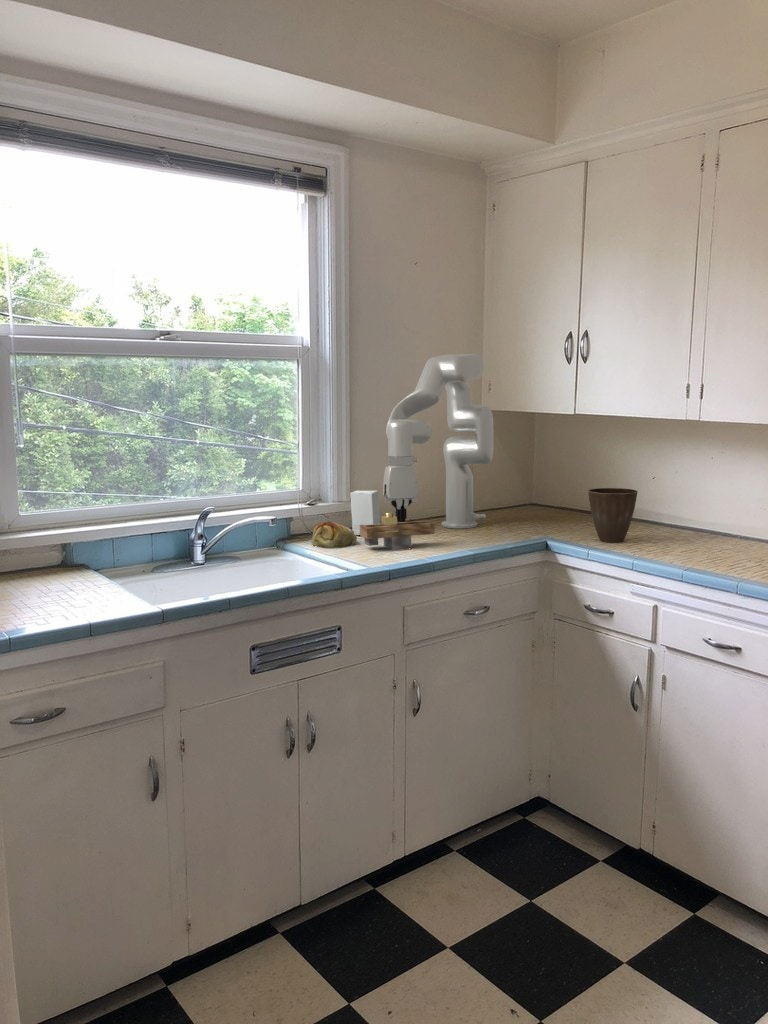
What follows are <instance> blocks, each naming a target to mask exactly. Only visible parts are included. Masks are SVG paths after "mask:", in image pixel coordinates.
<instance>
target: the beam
mask: <svg viewBox="0 0 768 1024" xmlns="http://www.w3.org/2000/svg"><path fill="white" fill-rule="evenodd" d="M435 527H436V525H435V522H433V521H429V520H426V519H425V520H424V519H423V520H415V521H405V522H397V525H393V526H382V523H380V524H372V525H360V536H359V537H363V538H364V545H367V546H369V547H370V546H371V547H372V546H379V539H383V546H384V547H385V546H386V547H385V548H387V549H389V548H390V549H389V550H391V549H392V551H400V550H399V549H403V550H410V549H409V548H411V549H412V536H424V535H434V534H436V533H435V531H436V530H435Z"/></svg>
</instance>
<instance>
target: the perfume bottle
mask: <svg viewBox="0 0 768 1024" xmlns="http://www.w3.org/2000/svg"><path fill="white" fill-rule="evenodd" d="M397 523H398V521H397V516H396V515H394V512H385V514H384V515H381V524H382V526H393V525H397Z"/></svg>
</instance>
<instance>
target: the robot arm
mask: <svg viewBox="0 0 768 1024" xmlns="http://www.w3.org/2000/svg"><path fill="white" fill-rule="evenodd" d="M484 366H485V364H484V361H483V358H482V357H481V356H480V355H479V354H477V353H460V354H459V353H457V354H456V353H452V354H442V355H438V356H437V355H436V356H432V357H430V358H429V359H427V361H426V362H425V365H424V368H423V369H422V372H421V374H420V377H419V378H418V382H417V384H416V386H415V389H414V390H413V391H412V392H411V393H409V394H408V395H406V396H405V397H404V398H403V399H401V400H400V402H398V403H397V404H396V405H395V406H394V407H393V408H392V411H391V413H390V416H389V418H388V421H387V423H386V426H385V427H386V429H385V434H386V437H387V444H388V445H387V455H388V457H387V459H388V462H387V463H388V466H387V465H386V466H385V468H384V473H383V481H382V482H383V483H382V495H383V497H384V499H383V502H384V503H385V504H389V505H392V507H393V508H394V509H395V516H397V523H399V522H406V519H407V510H408V509H409V507H410V505H411V504H412V503H416V502H418V495H419V494H418V493H419V486H418V485H419V484H418V474H417V470H416V469H417V468H416V466H415V465H414V464H415V463H416V462H418V457H415V456H414V445H421V444H425V443H427V442H428V441H429V440H430V439H431V437H432V431H433V429H432V427H431V424H430V423H429V422H428V421H426V420H423V419H412V418H410V417H412V416H413V415H416V414H418V413H420V412H423V411H425V410H428V409H430V408H432V407H434V406H436V405H437V404H438V403H439V402H440V400H441V396H442V394H443V392H444V389H445V392H446V402H447V403H446V417H447V418H446V420H447V427H448V429H449V431H451V432H455V433H468V434H469V433H476V436H468V435H466V436H465V435H456V436H455V435H454V436H450V437H448V438H446V440H445V441H444V442H443V446H442V448H443V449H442V451H443V458H444V459H443V460H444V464H445V520H444V521H442V522H441V526H442V527H443V528H448V529H472V528H476V527H477V526H478V522H477V521H479V520H480V521H481V520H486V517H487V516H486V514H485V513H475V512H474V475H473V472H472V470H471V468H470V467H469V465H487V464H490V463H491V461H492V460H493V456H494V416H493V412H492V410H491V408H490V407H489V406H488V405H485V404H473V399H472V396H473V395H472V394H473V393H472V388H471V386H470V384H469V383H468V382H470V381H475V380H478V379H480V378H481V376H482V374H483V373H484V369H485V367H484Z"/></svg>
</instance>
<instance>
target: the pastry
mask: <svg viewBox="0 0 768 1024" xmlns="http://www.w3.org/2000/svg"><path fill="white" fill-rule="evenodd" d="M357 540H358V539H357V536H356V535H355V534H354V531H353V530H352V529H351V528H349V527H347V526H345V525H342V524H339V523H337V522H333V521H330V520H329V521H324V522H320V523H318V524H317V525H316V526H315V527H314V529H313V532H312V537H311V542H310V544H311V546H312V545H313V546H312V547H315V546H317V547H316V548H327V549H330V548H331V549H334V548H335V547H338V548H343V547H348V546H356V545H357ZM335 549H336V548H335Z"/></svg>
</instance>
